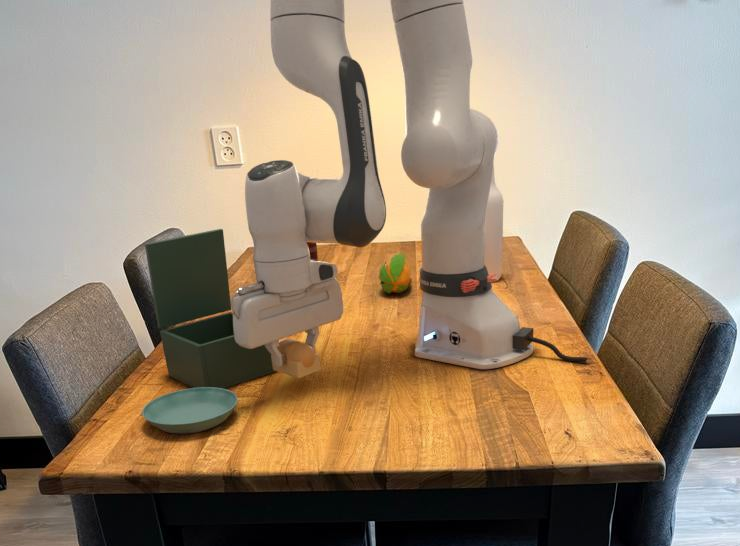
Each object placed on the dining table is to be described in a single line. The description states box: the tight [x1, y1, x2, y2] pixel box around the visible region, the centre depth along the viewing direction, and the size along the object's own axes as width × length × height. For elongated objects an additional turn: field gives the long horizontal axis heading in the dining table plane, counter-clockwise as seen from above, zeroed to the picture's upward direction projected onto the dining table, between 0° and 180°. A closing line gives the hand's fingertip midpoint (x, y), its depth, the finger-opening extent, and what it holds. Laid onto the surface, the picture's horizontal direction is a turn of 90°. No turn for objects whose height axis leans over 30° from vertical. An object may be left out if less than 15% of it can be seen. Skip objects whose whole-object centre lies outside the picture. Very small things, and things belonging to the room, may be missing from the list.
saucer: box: [141, 387, 239, 435], centre depth 121 cm, size 15×15×3 cm
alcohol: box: [484, 163, 504, 283], centre depth 179 cm, size 9×9×30 cm
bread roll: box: [271, 338, 322, 379], centre depth 129 cm, size 8×5×5 cm, turn 43°
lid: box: [144, 228, 232, 330], centre depth 137 cm, size 14×15×5 cm
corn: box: [378, 253, 413, 295], centre depth 183 cm, size 7×8×20 cm
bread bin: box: [159, 311, 277, 389], centre depth 138 cm, size 14×15×8 cm
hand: (295, 359), depth 129 cm, fingers closed on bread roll, 5 cm apart
